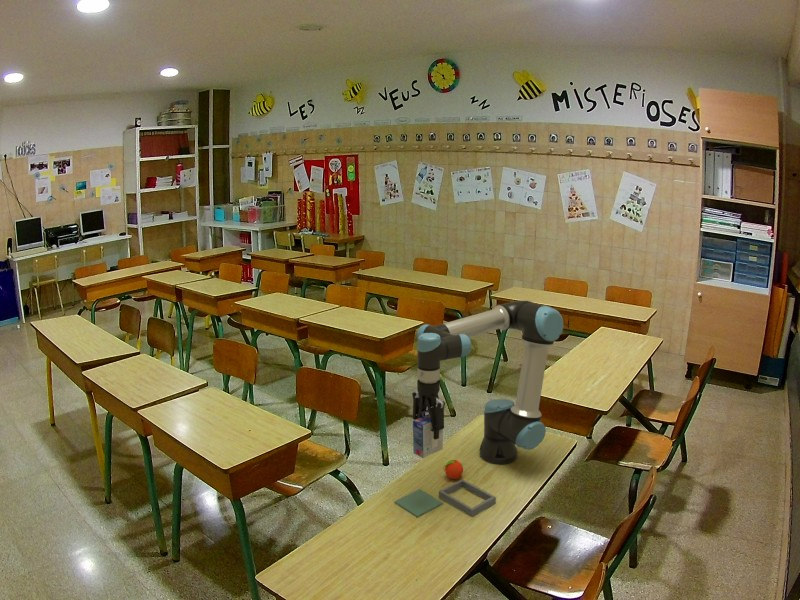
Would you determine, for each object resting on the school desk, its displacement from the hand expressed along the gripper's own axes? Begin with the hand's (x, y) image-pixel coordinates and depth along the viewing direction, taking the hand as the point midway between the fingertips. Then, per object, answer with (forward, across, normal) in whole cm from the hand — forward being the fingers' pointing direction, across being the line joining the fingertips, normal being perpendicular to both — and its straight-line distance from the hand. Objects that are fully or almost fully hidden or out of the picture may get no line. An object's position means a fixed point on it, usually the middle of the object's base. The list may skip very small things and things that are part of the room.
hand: (427, 443), depth 209 cm
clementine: (+23, -6, +19) cm, 30 cm away
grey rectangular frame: (+23, +8, +12) cm, 27 cm away
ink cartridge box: (+3, 0, 0) cm, 3 cm away
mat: (+23, -2, -2) cm, 23 cm away
